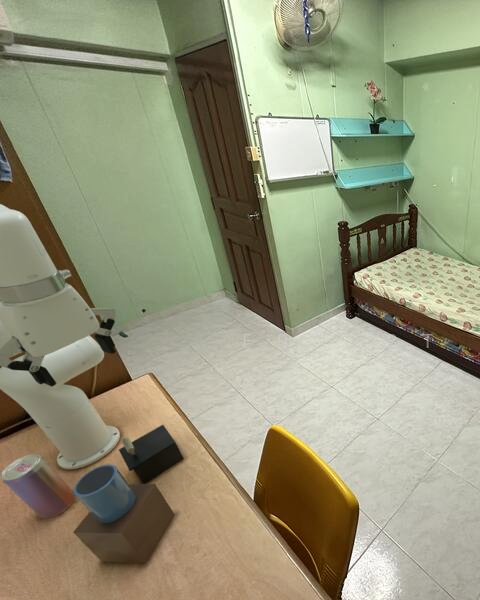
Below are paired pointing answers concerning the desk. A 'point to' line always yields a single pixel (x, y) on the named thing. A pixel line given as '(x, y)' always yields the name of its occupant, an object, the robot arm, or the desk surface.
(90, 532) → the stand
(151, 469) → the wash box
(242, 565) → the desk surface
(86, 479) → the cup
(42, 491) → the beverage can
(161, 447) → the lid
